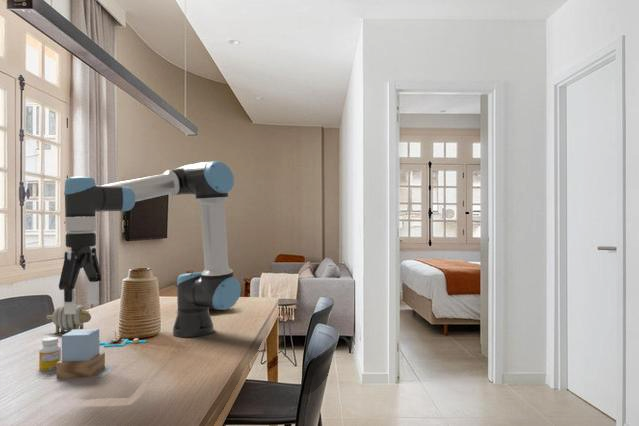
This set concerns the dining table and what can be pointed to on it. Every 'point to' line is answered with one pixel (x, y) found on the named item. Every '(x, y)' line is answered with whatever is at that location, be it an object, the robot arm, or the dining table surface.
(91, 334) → the blue cube
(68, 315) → the toy sheep
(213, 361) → the dining table surface
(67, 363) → the base brick
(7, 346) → the dining table surface
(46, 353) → the supplement bottle
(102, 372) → the board
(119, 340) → the gear mechanism
